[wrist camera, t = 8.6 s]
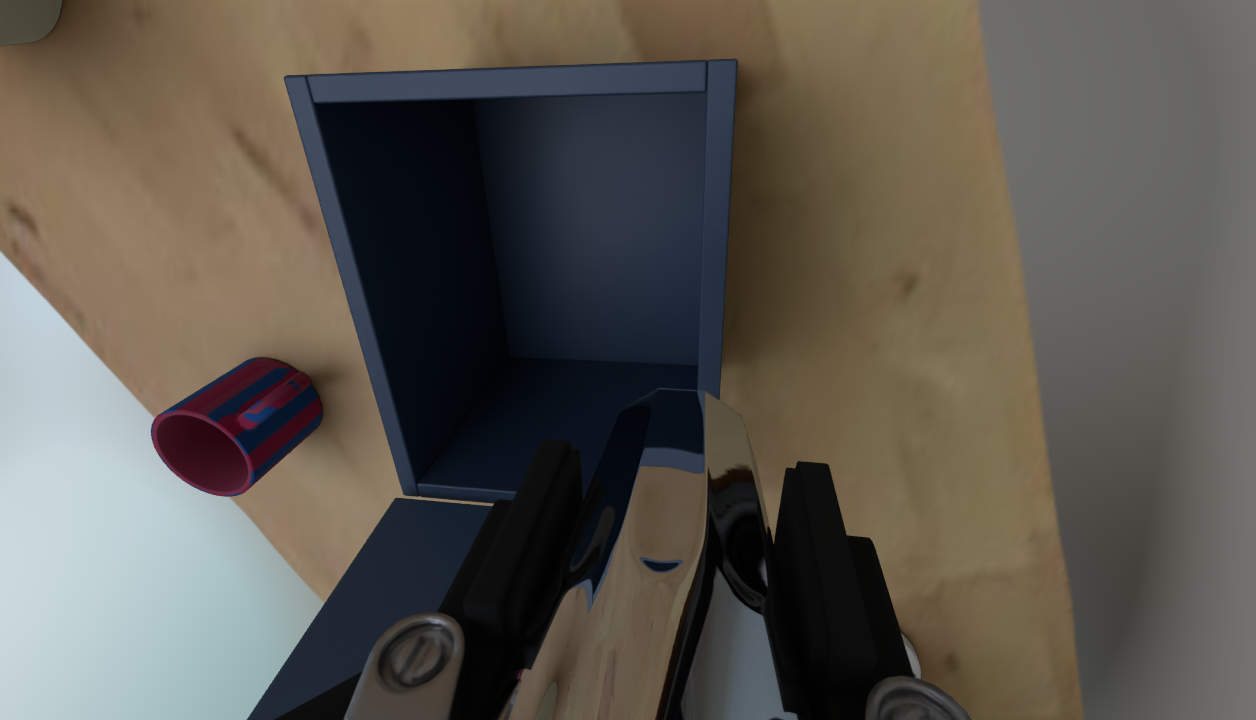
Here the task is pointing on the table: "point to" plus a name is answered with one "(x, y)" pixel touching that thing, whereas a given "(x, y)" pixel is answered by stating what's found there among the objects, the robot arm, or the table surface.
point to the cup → (237, 426)
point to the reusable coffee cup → (27, 20)
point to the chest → (524, 251)
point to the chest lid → (376, 596)
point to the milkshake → (663, 584)
